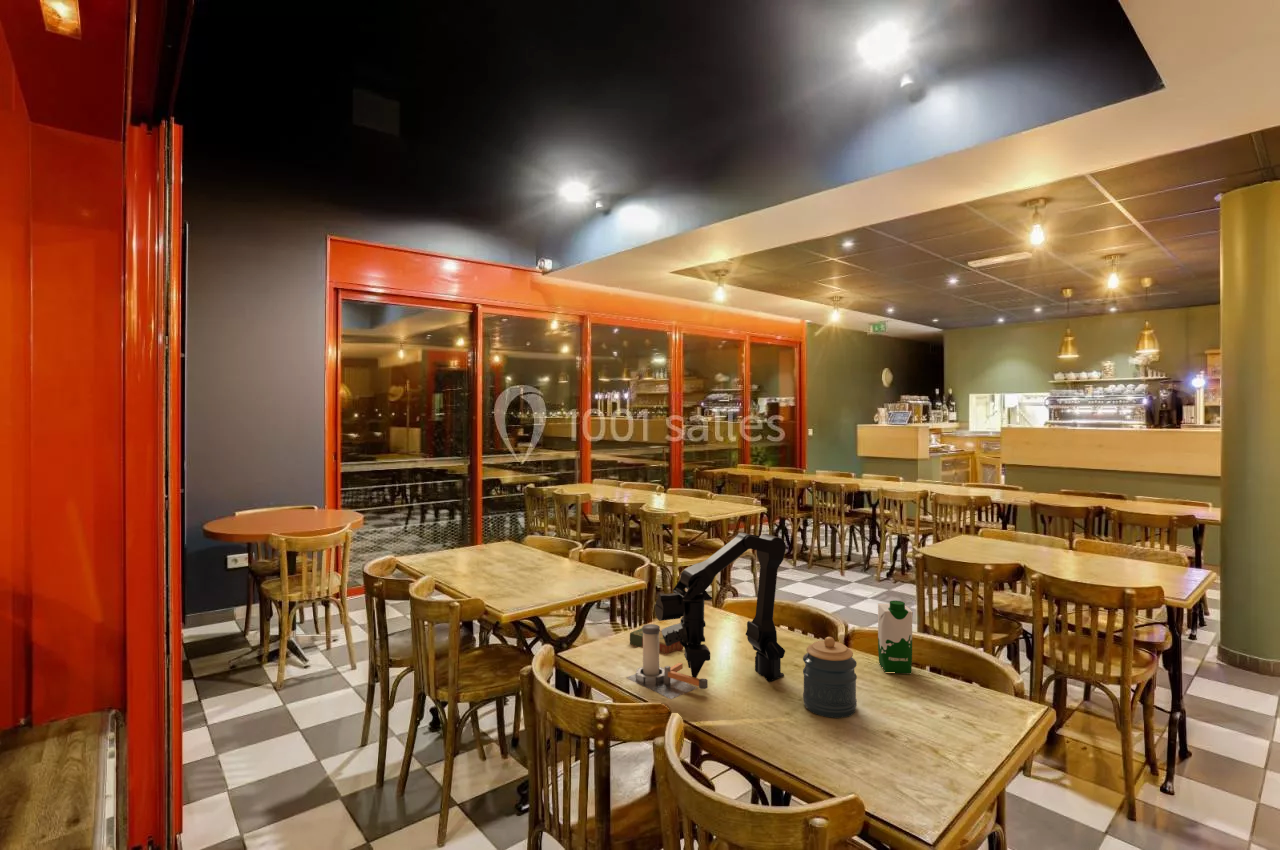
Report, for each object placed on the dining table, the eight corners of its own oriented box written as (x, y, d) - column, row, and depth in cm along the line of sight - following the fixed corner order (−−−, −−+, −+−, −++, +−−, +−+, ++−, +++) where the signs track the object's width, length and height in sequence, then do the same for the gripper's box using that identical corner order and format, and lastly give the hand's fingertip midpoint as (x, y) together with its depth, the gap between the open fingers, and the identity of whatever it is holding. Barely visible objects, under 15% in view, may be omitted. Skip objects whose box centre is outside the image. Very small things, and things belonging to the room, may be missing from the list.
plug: (663, 678, 174) (663, 627, 174) (650, 683, 171) (650, 631, 171) (651, 673, 178) (651, 623, 178) (638, 677, 175) (638, 626, 174)
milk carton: (883, 674, 178) (883, 604, 178) (874, 662, 187) (874, 595, 187) (915, 676, 177) (915, 605, 177) (905, 663, 186) (905, 596, 186)
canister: (820, 722, 151) (820, 648, 150) (793, 698, 163) (793, 631, 163) (867, 715, 154) (867, 643, 154) (837, 692, 167) (837, 626, 166)
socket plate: (697, 690, 168) (697, 681, 168) (671, 702, 161) (671, 692, 161) (652, 670, 181) (652, 661, 181) (625, 680, 175) (625, 671, 175)
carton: (666, 657, 192) (666, 643, 192) (629, 644, 203) (628, 631, 203) (683, 650, 198) (683, 636, 198) (646, 638, 209) (646, 625, 209)
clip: (719, 686, 169) (719, 670, 169) (704, 696, 162) (704, 679, 162) (678, 674, 177) (678, 658, 177) (662, 683, 170) (662, 667, 170)
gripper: (660, 604, 178) (659, 658, 179) (668, 629, 160) (666, 689, 160) (698, 604, 179) (697, 658, 180) (711, 629, 160) (710, 688, 161)
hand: (692, 672), depth 170 cm, fingers open, 6 cm apart
